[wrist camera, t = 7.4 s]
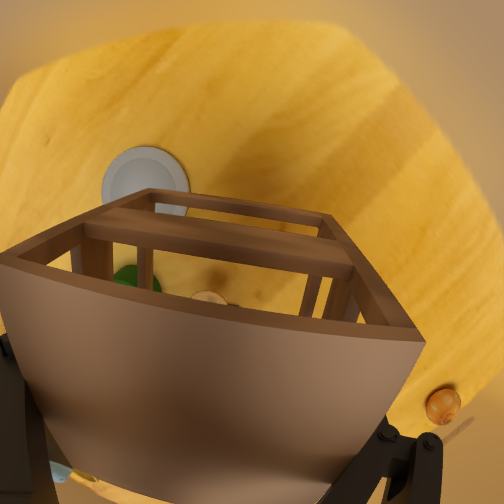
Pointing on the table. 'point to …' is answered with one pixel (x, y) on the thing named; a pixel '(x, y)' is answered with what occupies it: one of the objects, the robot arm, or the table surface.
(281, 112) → the table surface
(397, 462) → the robot arm
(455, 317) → the table surface
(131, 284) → the candle
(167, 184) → the dish
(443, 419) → the brown onion
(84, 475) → the plant pot
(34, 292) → the crate
